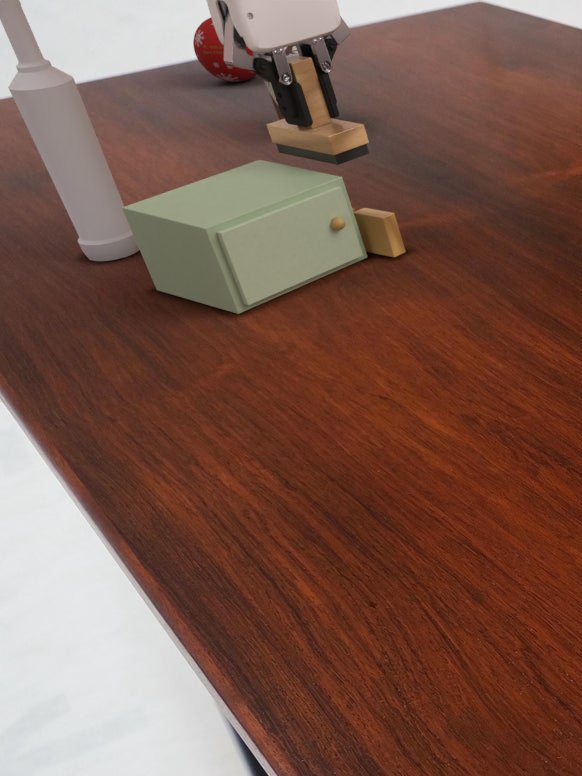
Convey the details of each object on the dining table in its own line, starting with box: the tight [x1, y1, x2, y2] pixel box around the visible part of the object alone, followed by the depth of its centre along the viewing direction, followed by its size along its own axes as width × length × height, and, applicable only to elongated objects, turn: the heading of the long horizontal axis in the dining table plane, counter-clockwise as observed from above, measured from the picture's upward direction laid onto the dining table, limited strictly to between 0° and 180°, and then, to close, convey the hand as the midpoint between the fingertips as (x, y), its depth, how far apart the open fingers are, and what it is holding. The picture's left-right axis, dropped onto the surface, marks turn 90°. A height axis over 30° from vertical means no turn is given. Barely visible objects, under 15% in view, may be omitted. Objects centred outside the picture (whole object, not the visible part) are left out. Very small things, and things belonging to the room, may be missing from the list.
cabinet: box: [122, 159, 368, 315], centre depth 119 cm, size 14×14×8 cm
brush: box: [266, 55, 370, 166], centre depth 121 cm, size 4×9×9 cm, turn 61°
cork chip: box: [353, 207, 407, 258], centre depth 124 cm, size 4×4×2 cm
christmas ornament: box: [193, 17, 258, 83], centre depth 176 cm, size 9×9×10 cm
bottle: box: [0, 0, 140, 262], centre depth 120 cm, size 5×5×25 cm
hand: (312, 118), depth 122 cm, fingers closed on brush, 2 cm apart
